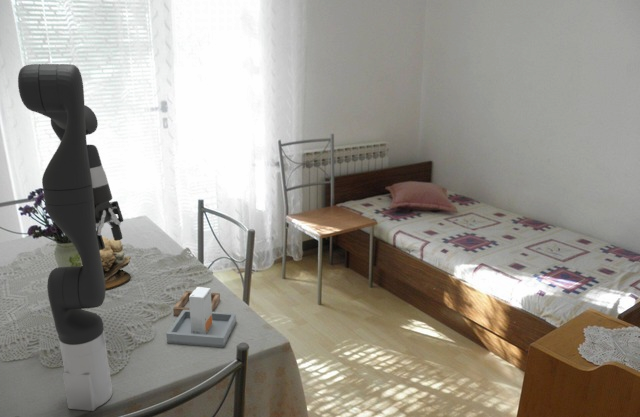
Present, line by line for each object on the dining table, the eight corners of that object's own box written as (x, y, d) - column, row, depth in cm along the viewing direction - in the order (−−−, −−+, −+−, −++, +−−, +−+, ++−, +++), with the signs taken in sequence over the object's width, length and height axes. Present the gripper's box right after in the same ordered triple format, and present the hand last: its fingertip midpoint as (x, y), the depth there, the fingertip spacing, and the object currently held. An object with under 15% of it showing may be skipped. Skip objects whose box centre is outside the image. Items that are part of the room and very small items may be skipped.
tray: (223, 347, 142) (223, 338, 141) (167, 343, 144) (166, 333, 143) (236, 322, 154) (235, 313, 153) (183, 318, 156) (183, 309, 155)
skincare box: (205, 336, 146) (202, 298, 142) (190, 334, 146) (188, 296, 142) (213, 324, 151) (211, 287, 147) (199, 323, 152) (196, 286, 148)
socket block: (209, 318, 156) (208, 311, 155) (173, 315, 157) (173, 308, 156) (220, 300, 166) (219, 293, 166) (186, 298, 167) (186, 291, 167)
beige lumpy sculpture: (126, 269, 186) (121, 225, 181) (138, 282, 178) (134, 236, 172) (72, 283, 176) (66, 236, 170) (83, 297, 167) (76, 248, 161)
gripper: (89, 188, 128) (107, 251, 131) (120, 178, 142) (136, 235, 145) (63, 193, 130) (81, 255, 133) (96, 182, 143) (112, 238, 147)
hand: (110, 244), depth 139 cm, fingers open, 8 cm apart
